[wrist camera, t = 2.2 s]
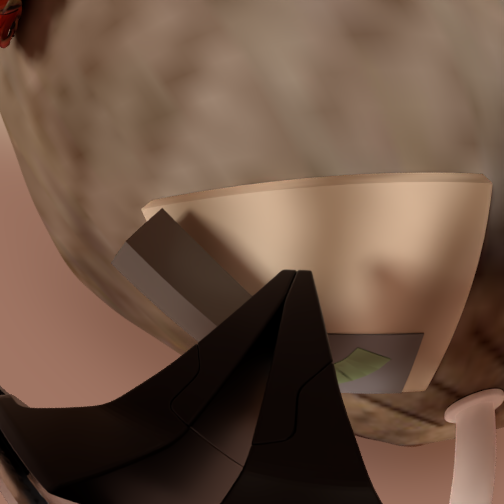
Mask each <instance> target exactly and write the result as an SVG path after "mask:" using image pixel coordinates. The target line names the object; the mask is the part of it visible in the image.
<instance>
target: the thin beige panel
mask: <svg viewBox="0 0 504 504" xmlns="http://www.w3.org/2000/svg"><path fill="white" fill-rule="evenodd" d="M491 192H492V182H490V181H489V180H488V179H487V178H486V177H485V176H484V175H483V174H472V173H380V174H359V175H342V176H328V177H315V178H304V179H294V180H284V181H275V182H266V183H258V184H250V185H242V186H235V187H228V188H221V189H214V190H208V191H201V192H195V193H189V194H183V195H178V196H172V197H167V198H161V199H156V200H152V201H151V202H149V203H148V204H147V205H146V206H145V207H143V208H142V209H141V210H142V212H143V214H144V216H145V219H146V221H148V220H149V219H150V218H151V217H152V216H154V215H155V214H156V213H157V212H158V211H159V210H160V209H161V208H163V209H164V210H165V211H166V212H167V213H168V214H169V215H170V216H171V217H172V218H173V219H174V220H175V221H176V222H177V223H178V224H179V225H180V226H181V227H182V228H183V229H184V230H185V231H186V232H187V233H188V234H189V235H190V236H191V237H192V238H193V239H194V240H195V241H196V242H197V243H198V244H199V245H200V246H201V247H202V248H203V249H204V250H205V251H206V252H207V253H208V254H209V255H210V256H211V257H212V258H213V259H214V260H215V261H216V262H217V263H218V264H219V265H220V266H221V267H222V268H223V269H224V270H225V271H226V272H227V273H229V274H230V275H231V276H232V277H233V278H234V279H235V280H236V281H237V282H238V283H239V284H240V285H241V286H242V287H243V288H244V289H245V290H246V291H247V292H248V293H249V294H251V295H252V296H253V295H254V294H255V293H257V292H258V291H259V290H260V289H261V288H262V287H263V286H264V285H266V284H267V283H268V282H269V281H270V280H271V279H272V278H274V277H275V276H276V275H277V274H278V273H279V272H280V271H281V270H284V269H289V270H296V271H298V270H311V271H312V273H313V277H314V281H315V285H316V289H317V293H318V297H319V301H320V305H321V309H322V313H323V317H324V321H325V326H326V330H327V334H328V339H329V343H330V348H331V352H332V357H333V364H334V366H335V371H336V376H337V380H338V384H339V388H340V392H341V393H374V394H378V393H402V392H411V391H425V390H426V388H427V387H428V385H429V383H430V381H431V379H432V378H433V376H434V374H435V372H436V370H437V368H438V366H439V364H440V362H441V360H442V358H443V356H444V354H445V352H446V350H447V348H448V346H449V343H450V341H451V339H452V337H453V334H454V332H455V330H456V327H457V325H458V322H459V320H460V317H461V314H462V312H463V309H464V306H465V304H466V301H467V298H468V295H469V292H470V289H471V286H472V282H473V279H474V276H475V272H476V269H477V265H478V261H479V258H480V254H481V249H482V245H483V241H484V236H485V231H486V226H487V220H488V214H489V208H490V200H491Z"/></svg>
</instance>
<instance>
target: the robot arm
mask: <svg viewBox="0 0 504 504" xmlns="http://www.w3.org/2000/svg"><path fill="white" fill-rule="evenodd" d="M0 492H1V493H2V495H3V496H4V498H5V500H6V501H7V502H8V504H382V502H381V500H380V498H379V497H378V495H377V493H376V491H375V489H374V487H373V485H372V482H371V480H370V478H369V475H368V473H367V470H366V467H365V465H364V462H363V459H362V456H361V453H360V450H359V447H358V444H357V441H356V438H355V435H354V432H353V430H352V427H351V424H350V421H349V418H348V415H347V412H346V409H345V406H344V403H343V400H342V396H341V392H340V388H339V384H338V380H337V376H336V371H335V366H334V364H333V357H332V352H331V348H330V343H329V339H328V334H327V330H326V326H325V321H324V317H323V313H322V309H321V305H320V301H319V297H318V293H317V289H316V285H315V281H314V277H313V273H312V271H311V270H298V271H296V270H289V269H284V270H281V271H280V272H279V273H278V274H277V275H276V276H275V277H274V278H272V279H271V280H270V281H269V282H268V283H267V284H266V285H264V286H263V287H262V288H261V289H260V290H259V291H258V292H257V293H255V294H254V295H253V296H252V297H251V298H250V299H248V300H247V301H246V302H245V303H244V304H243V305H242V306H240V307H239V308H238V309H237V310H236V311H235V312H233V313H232V314H231V315H230V316H229V317H228V318H226V319H225V320H224V321H223V322H222V323H221V324H219V325H218V326H217V327H216V328H215V329H213V330H212V331H211V332H210V333H209V334H207V335H206V336H205V337H204V338H203V339H202V340H200V341H199V342H198V345H197V344H195V345H194V346H193V347H192V348H191V349H189V350H188V351H187V352H186V353H184V354H183V355H182V356H180V357H179V358H178V359H177V360H175V361H174V362H173V363H171V365H169V366H167V367H166V368H164V369H163V370H161V371H160V372H158V373H157V374H156V375H154V376H152V377H151V378H149V379H148V380H146V381H145V382H143V383H142V384H140V385H139V386H137V387H135V388H134V389H132V390H130V391H129V392H127V393H126V394H124V395H122V396H121V397H119V398H117V399H115V400H113V401H111V402H109V403H105V404H103V405H97V406H87V407H70V408H30V407H28V406H27V405H26V404H24V403H23V402H22V401H21V400H19V399H18V398H17V397H15V396H13V395H11V394H9V393H7V392H6V391H5V390H4V389H3V388H2V387H1V386H0Z"/></svg>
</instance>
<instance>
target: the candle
mask: <svg viewBox="0 0 504 504" xmlns="http://www.w3.org/2000/svg"><path fill="white" fill-rule="evenodd" d="M503 401H504V392H503V391H502V390H501V389H488V390H483V391H480V392H477V393H474V394H471V395H469V396H466V397H464V398H462V399H460V400H458V401H456V402H455V403H453V404H452V405H451V406H449V407H448V408H447V410H446V411H445V420H446V421H447V422H450V423H456V446H455V463H454V474H453V482H452V490H451V497H450V502H449V504H491V503H492V496H493V488H494V479H495V466H496V463H495V462H496V422H495V409H496V408H497V407H499V406H500V405H501V404H502V402H503Z"/></svg>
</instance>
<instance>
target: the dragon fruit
mask: <svg viewBox="0 0 504 504" xmlns="http://www.w3.org/2000/svg"><path fill="white" fill-rule="evenodd" d="M21 13H22V2H21V0H0V47H1V48H6V47H7V46H9V44H10V40H11V39H12V38H11V37H14V33H15V31H16V30H17V27H18V26H17V24H18V20H19V18H20V17H21ZM9 29H10V32H9ZM8 32H9V34H8ZM11 42H12V41H11Z"/></svg>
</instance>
